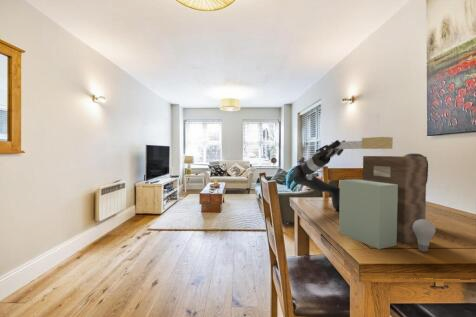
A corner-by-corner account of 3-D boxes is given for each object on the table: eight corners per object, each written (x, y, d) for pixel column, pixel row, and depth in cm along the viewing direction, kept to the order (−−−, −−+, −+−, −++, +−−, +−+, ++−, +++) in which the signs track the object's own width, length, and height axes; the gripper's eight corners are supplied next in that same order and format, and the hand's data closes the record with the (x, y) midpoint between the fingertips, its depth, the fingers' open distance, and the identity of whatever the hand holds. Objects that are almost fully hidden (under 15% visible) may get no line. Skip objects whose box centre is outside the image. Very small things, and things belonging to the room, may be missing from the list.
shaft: (338, 149, 108) (339, 140, 108) (392, 148, 85) (392, 137, 85) (329, 148, 106) (329, 139, 106) (381, 148, 83) (381, 136, 83)
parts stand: (381, 226, 108) (382, 156, 107) (424, 239, 91) (426, 156, 91) (361, 229, 103) (362, 156, 103) (403, 244, 87) (405, 156, 86)
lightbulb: (439, 256, 76) (440, 222, 76) (417, 254, 78) (418, 221, 77) (428, 249, 82) (428, 217, 82) (408, 247, 84) (409, 216, 83)
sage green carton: (355, 230, 102) (355, 179, 102) (396, 245, 85) (397, 184, 85) (338, 232, 99) (339, 180, 98) (378, 249, 82) (380, 185, 82)
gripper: (331, 167, 118) (357, 149, 104) (308, 167, 112) (332, 149, 98) (326, 154, 121) (350, 135, 107) (303, 153, 116) (326, 134, 102)
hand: (341, 142), depth 103 cm, fingers closed on shaft, 3 cm apart
